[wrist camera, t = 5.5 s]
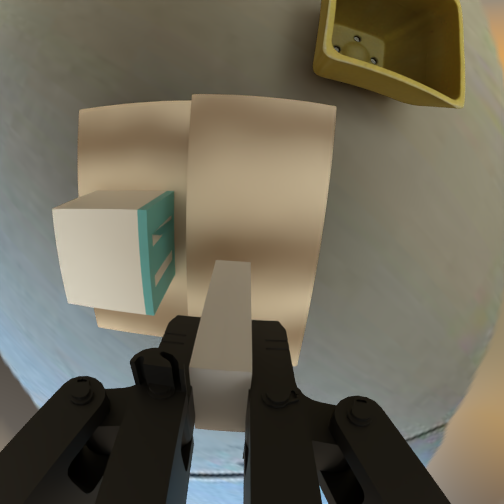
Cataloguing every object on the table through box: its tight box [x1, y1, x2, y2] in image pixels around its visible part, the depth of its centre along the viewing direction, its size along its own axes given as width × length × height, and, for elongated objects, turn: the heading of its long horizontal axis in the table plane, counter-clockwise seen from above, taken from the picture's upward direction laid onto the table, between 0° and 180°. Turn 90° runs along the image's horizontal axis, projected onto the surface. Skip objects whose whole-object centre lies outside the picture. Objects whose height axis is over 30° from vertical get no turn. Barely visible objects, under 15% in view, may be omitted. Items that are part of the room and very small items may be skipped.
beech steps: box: [78, 94, 337, 366], centre depth 20 cm, size 18×17×6 cm
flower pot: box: [313, 0, 465, 109], centre depth 14 cm, size 9×9×9 cm
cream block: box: [52, 190, 175, 316], centre depth 17 cm, size 6×6×6 cm
